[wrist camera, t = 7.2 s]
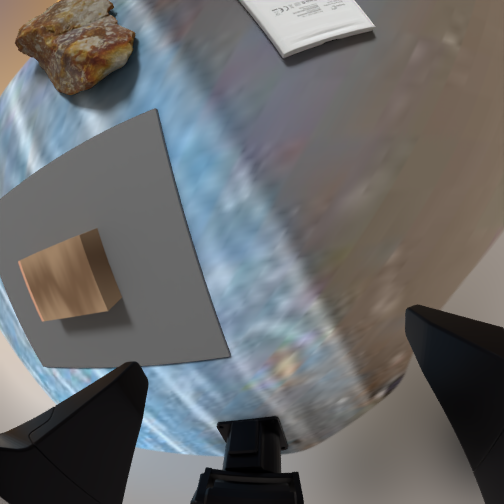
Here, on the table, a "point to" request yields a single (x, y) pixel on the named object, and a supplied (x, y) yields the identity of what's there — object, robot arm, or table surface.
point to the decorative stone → (76, 43)
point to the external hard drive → (307, 22)
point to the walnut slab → (71, 278)
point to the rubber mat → (114, 253)
